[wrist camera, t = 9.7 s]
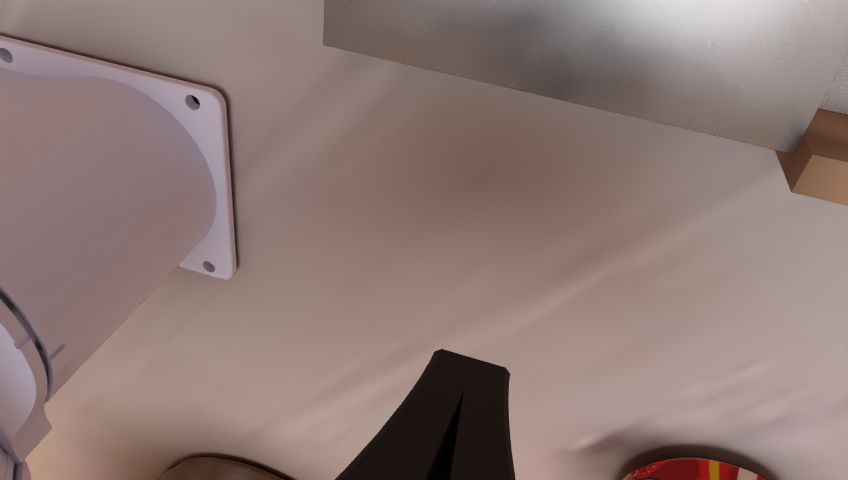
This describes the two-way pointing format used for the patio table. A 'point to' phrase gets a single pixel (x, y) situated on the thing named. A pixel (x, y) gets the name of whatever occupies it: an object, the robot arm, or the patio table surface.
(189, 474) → the plant pot
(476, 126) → the patio table surface
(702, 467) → the soda can
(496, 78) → the grey plate
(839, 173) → the box
